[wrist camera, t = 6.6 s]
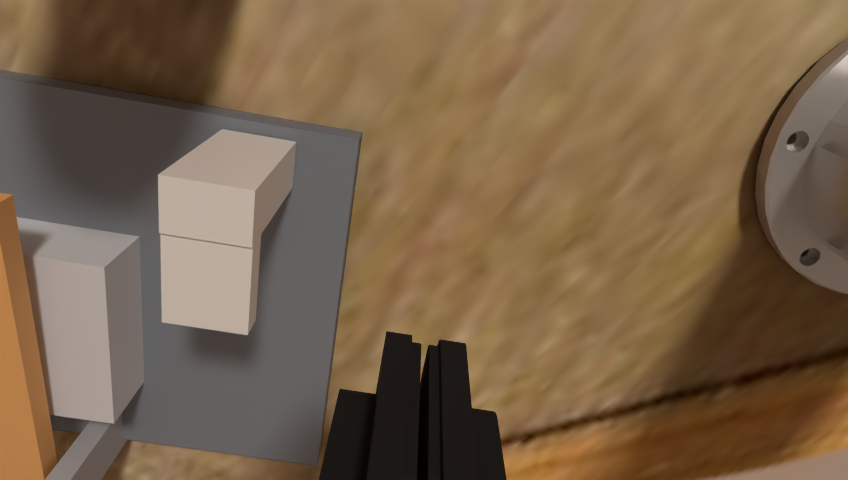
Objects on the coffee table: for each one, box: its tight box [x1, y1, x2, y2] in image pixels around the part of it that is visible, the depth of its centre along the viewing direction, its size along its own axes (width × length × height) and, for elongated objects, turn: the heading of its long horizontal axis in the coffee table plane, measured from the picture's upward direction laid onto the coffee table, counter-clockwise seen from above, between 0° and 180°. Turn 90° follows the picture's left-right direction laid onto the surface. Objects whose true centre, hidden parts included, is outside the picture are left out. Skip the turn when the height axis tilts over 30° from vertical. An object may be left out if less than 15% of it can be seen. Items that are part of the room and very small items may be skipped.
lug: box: [158, 129, 296, 335], centre depth 22 cm, size 3×6×6 cm, turn 170°
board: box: [0, 70, 362, 480], centre depth 25 cm, size 24×18×6 cm
